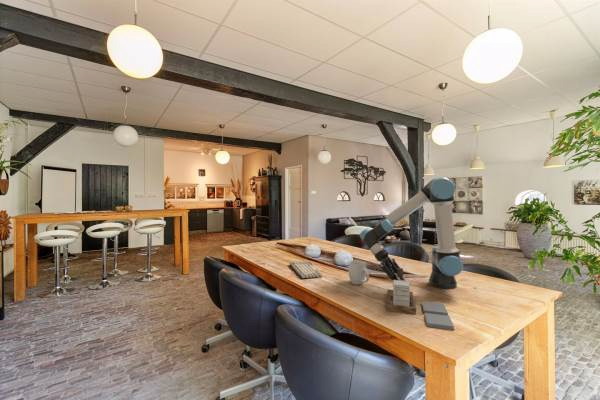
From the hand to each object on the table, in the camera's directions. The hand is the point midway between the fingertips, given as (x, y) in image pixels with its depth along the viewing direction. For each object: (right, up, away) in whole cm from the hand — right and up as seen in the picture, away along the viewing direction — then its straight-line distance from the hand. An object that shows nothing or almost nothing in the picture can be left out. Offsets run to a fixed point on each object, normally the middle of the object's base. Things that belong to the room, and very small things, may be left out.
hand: (406, 287), depth 147 cm
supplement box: (-8, -6, -14) cm, 17 cm away
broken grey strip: (+5, -6, -22) cm, 23 cm away
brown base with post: (-5, -5, -6) cm, 9 cm away
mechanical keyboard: (-53, -5, +51) cm, 74 cm away
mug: (-21, -5, +22) cm, 31 cm away
